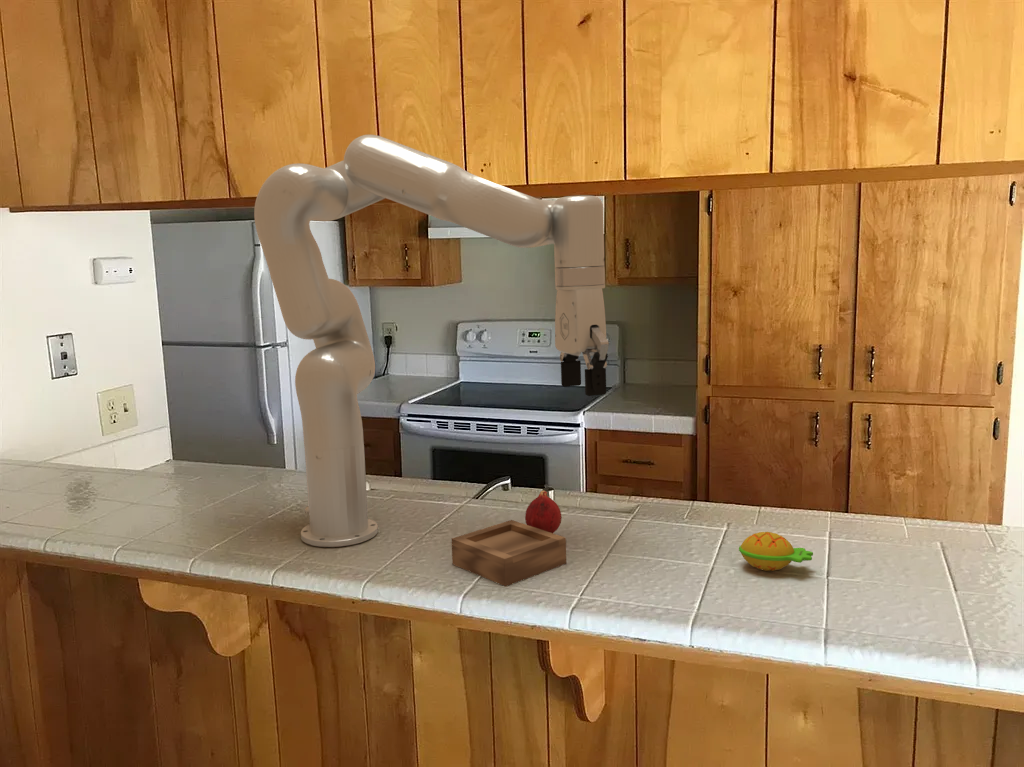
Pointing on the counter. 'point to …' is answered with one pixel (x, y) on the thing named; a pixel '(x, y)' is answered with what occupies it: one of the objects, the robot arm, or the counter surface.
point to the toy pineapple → (771, 551)
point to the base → (508, 552)
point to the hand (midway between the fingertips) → (583, 390)
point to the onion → (543, 513)
